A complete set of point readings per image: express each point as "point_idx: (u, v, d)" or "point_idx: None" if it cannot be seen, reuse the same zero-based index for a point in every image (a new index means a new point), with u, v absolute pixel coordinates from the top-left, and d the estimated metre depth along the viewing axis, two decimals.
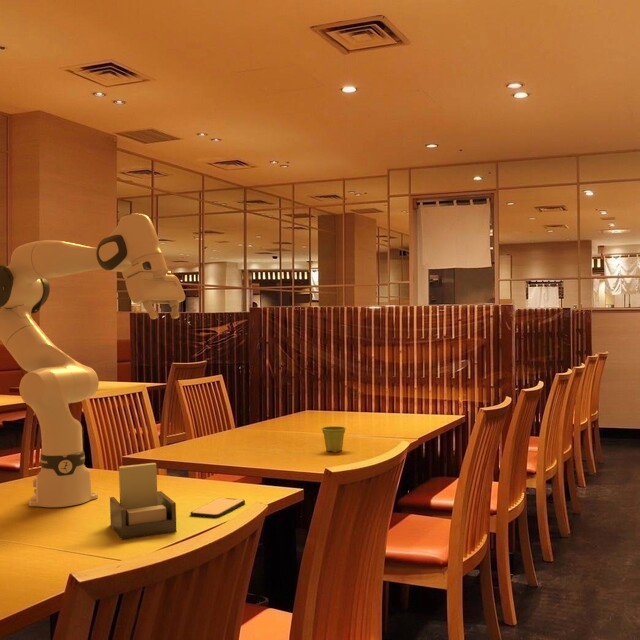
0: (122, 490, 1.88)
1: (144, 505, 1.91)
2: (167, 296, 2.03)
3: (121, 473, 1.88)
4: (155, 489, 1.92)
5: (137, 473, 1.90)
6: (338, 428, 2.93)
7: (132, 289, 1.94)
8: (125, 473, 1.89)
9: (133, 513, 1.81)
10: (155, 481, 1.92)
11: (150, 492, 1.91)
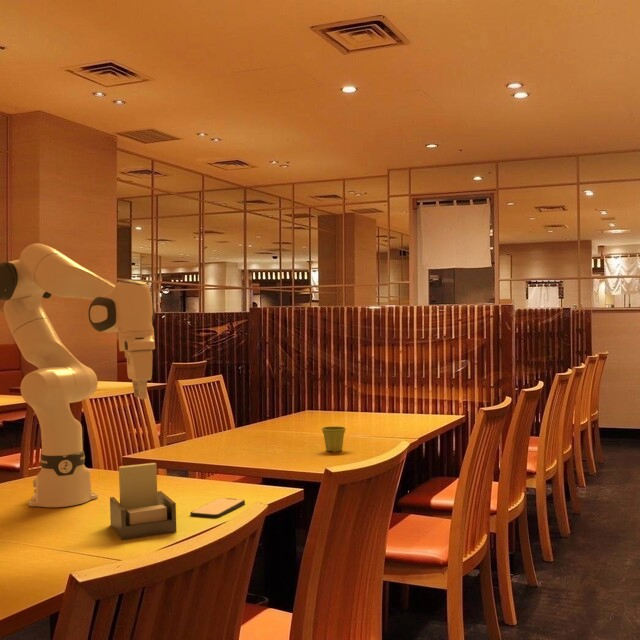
0: (122, 490, 1.88)
1: (144, 505, 1.91)
2: None
3: (121, 473, 1.88)
4: (155, 489, 1.92)
5: (137, 473, 1.90)
6: (338, 428, 2.93)
7: (141, 367, 1.82)
8: (125, 473, 1.89)
9: (134, 513, 1.81)
10: (155, 481, 1.92)
11: (150, 492, 1.91)
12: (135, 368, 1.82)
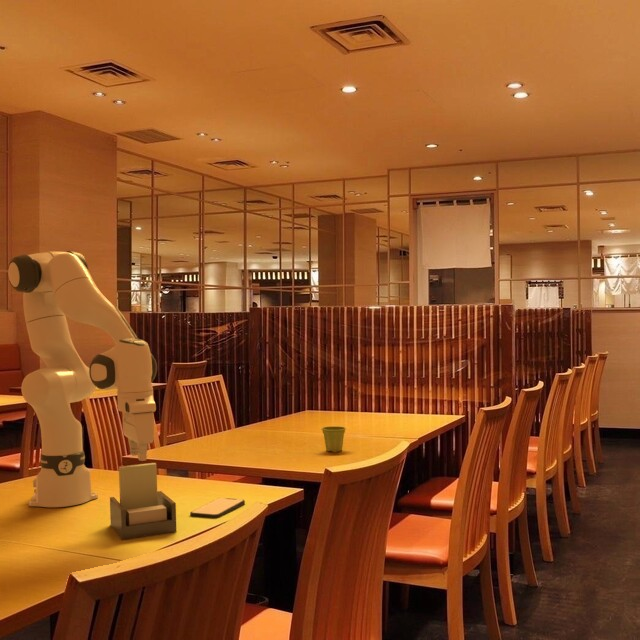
0: (122, 490, 1.88)
1: (144, 505, 1.91)
2: None
3: (121, 473, 1.88)
4: (155, 489, 1.92)
5: (137, 473, 1.90)
6: (338, 428, 2.93)
7: (143, 430, 1.82)
8: (125, 473, 1.89)
9: (133, 513, 1.81)
10: (155, 481, 1.92)
11: (150, 492, 1.91)
12: (137, 431, 1.81)
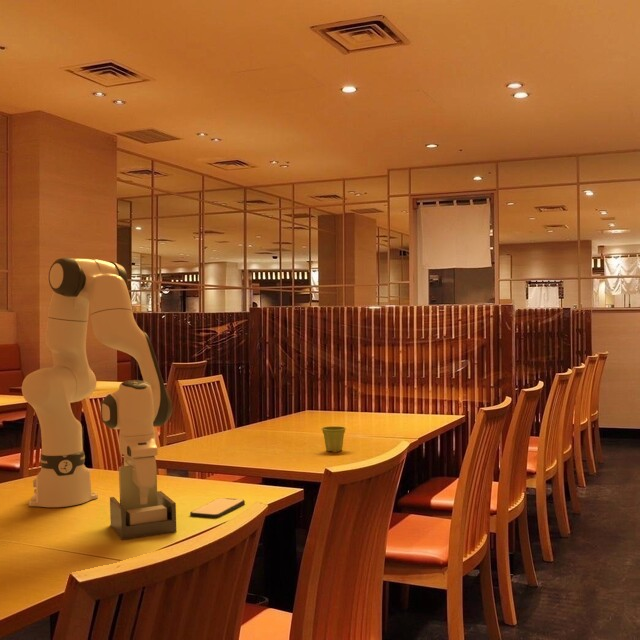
0: (122, 490, 1.88)
1: (144, 505, 1.91)
2: None
3: (121, 473, 1.88)
4: (155, 489, 1.92)
5: None
6: (338, 428, 2.93)
7: (145, 475, 1.82)
8: (125, 473, 1.89)
9: (134, 513, 1.80)
10: (155, 481, 1.92)
11: (150, 492, 1.91)
12: (138, 476, 1.82)
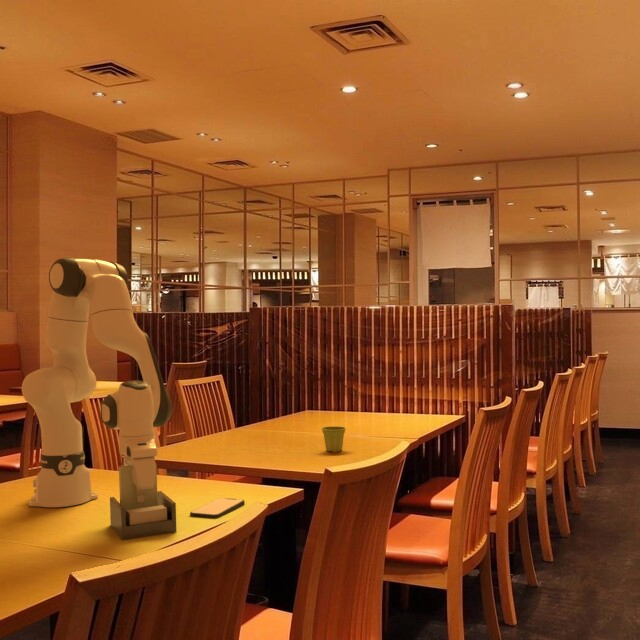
0: (122, 490, 1.88)
1: (144, 505, 1.91)
2: None
3: (121, 473, 1.88)
4: (155, 489, 1.92)
5: None
6: (338, 428, 2.93)
7: (144, 475, 1.82)
8: (125, 473, 1.89)
9: (134, 513, 1.80)
10: (155, 481, 1.92)
11: (150, 492, 1.91)
12: (138, 477, 1.81)
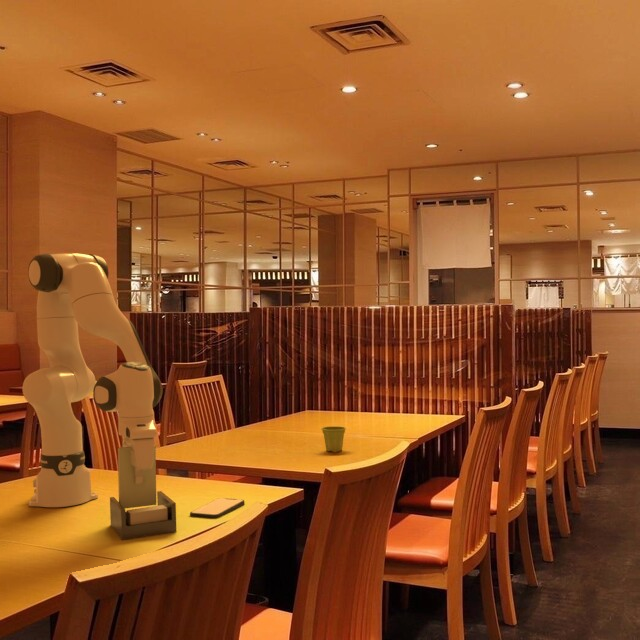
0: (121, 471, 1.89)
1: (142, 486, 1.91)
2: None
3: (120, 454, 1.89)
4: (154, 471, 1.92)
5: None
6: (338, 428, 2.93)
7: (143, 456, 1.82)
8: (124, 454, 1.89)
9: (135, 513, 1.80)
10: (154, 463, 1.92)
11: (149, 473, 1.92)
12: (137, 457, 1.82)
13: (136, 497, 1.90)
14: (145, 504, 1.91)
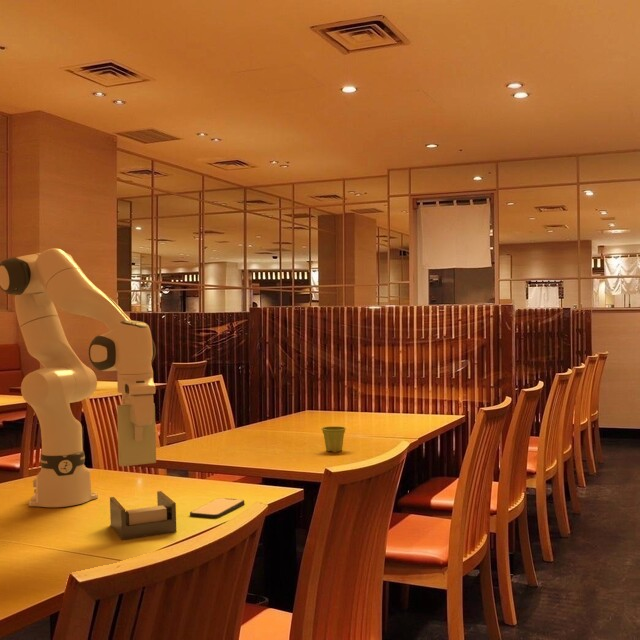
0: (120, 428, 1.88)
1: (142, 444, 1.91)
2: None
3: (119, 411, 1.88)
4: (153, 429, 1.92)
5: None
6: (338, 428, 2.93)
7: (142, 411, 1.82)
8: (123, 411, 1.89)
9: (133, 513, 1.80)
10: (153, 421, 1.92)
11: (148, 431, 1.91)
12: (136, 413, 1.81)
13: (136, 455, 1.90)
14: (145, 462, 1.91)
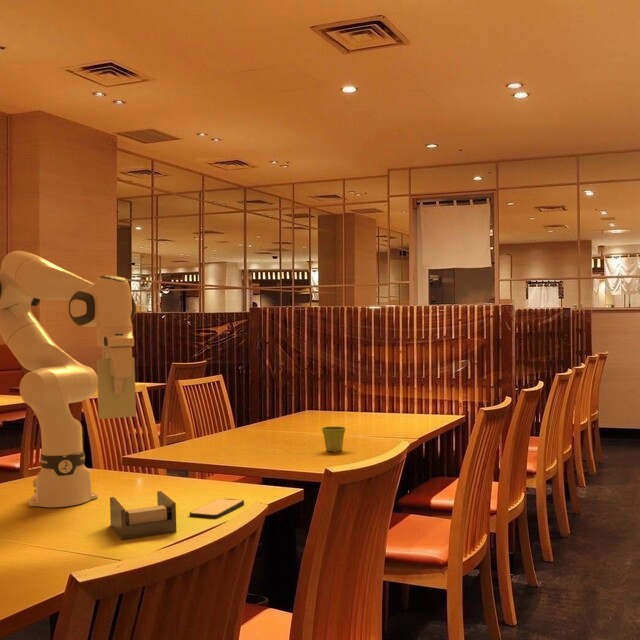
0: (100, 382, 1.90)
1: (122, 398, 1.93)
2: None
3: (99, 365, 1.90)
4: (133, 382, 1.94)
5: None
6: (338, 428, 2.93)
7: (121, 363, 1.84)
8: (103, 365, 1.91)
9: (133, 513, 1.80)
10: (133, 374, 1.94)
11: (128, 385, 1.93)
12: (115, 364, 1.83)
13: (116, 408, 1.92)
14: (125, 415, 1.93)
